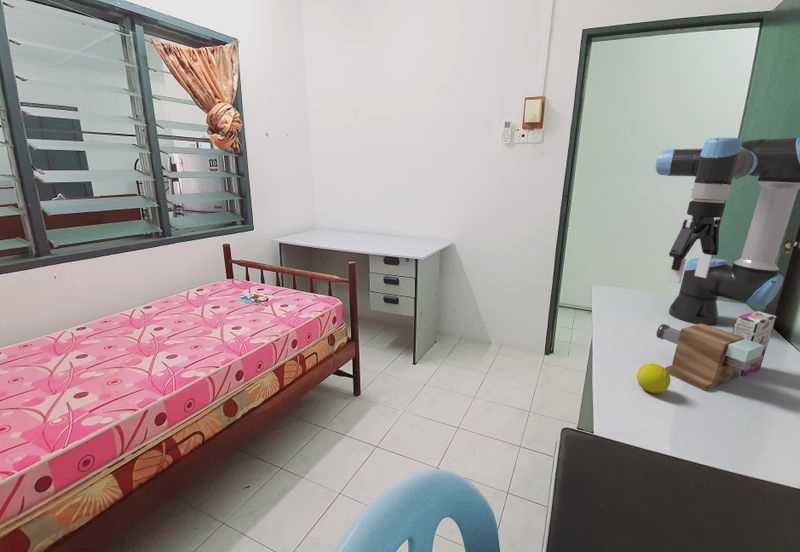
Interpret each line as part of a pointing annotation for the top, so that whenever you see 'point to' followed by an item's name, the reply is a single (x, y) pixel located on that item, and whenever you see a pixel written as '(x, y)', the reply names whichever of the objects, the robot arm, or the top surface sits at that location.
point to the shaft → (673, 336)
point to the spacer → (744, 350)
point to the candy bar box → (754, 334)
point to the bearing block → (703, 356)
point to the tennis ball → (653, 378)
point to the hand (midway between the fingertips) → (687, 279)
